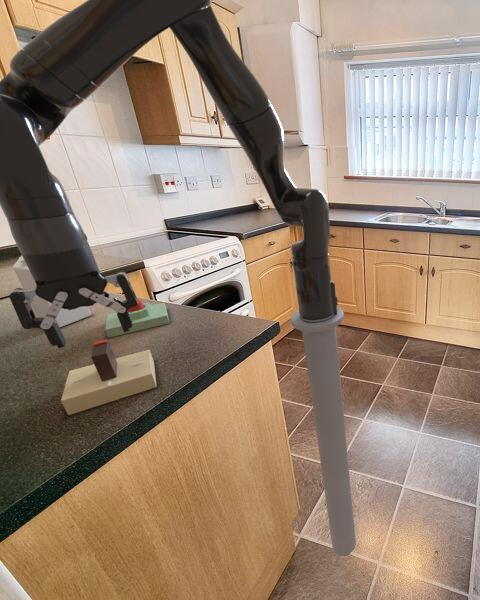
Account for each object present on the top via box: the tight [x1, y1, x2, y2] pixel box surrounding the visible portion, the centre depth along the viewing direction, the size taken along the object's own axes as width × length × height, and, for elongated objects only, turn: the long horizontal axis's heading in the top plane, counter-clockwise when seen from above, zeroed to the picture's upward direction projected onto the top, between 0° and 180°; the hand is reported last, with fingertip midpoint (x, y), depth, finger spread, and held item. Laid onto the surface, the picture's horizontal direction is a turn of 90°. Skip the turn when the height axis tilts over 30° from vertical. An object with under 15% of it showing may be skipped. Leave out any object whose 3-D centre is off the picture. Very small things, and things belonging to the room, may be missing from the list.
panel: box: [60, 349, 157, 416], centre depth 61 cm, size 12×10×3 cm
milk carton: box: [12, 255, 92, 329], centre depth 82 cm, size 7×7×19 cm
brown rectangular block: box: [90, 339, 117, 381], centre depth 59 cm, size 6×2×5 cm, turn 36°
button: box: [128, 299, 144, 312], centre depth 82 cm, size 4×4×2 cm
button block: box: [104, 302, 170, 339], centre depth 83 cm, size 12×10×4 cm
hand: (96, 337), depth 58 cm, fingers open, 8 cm apart
